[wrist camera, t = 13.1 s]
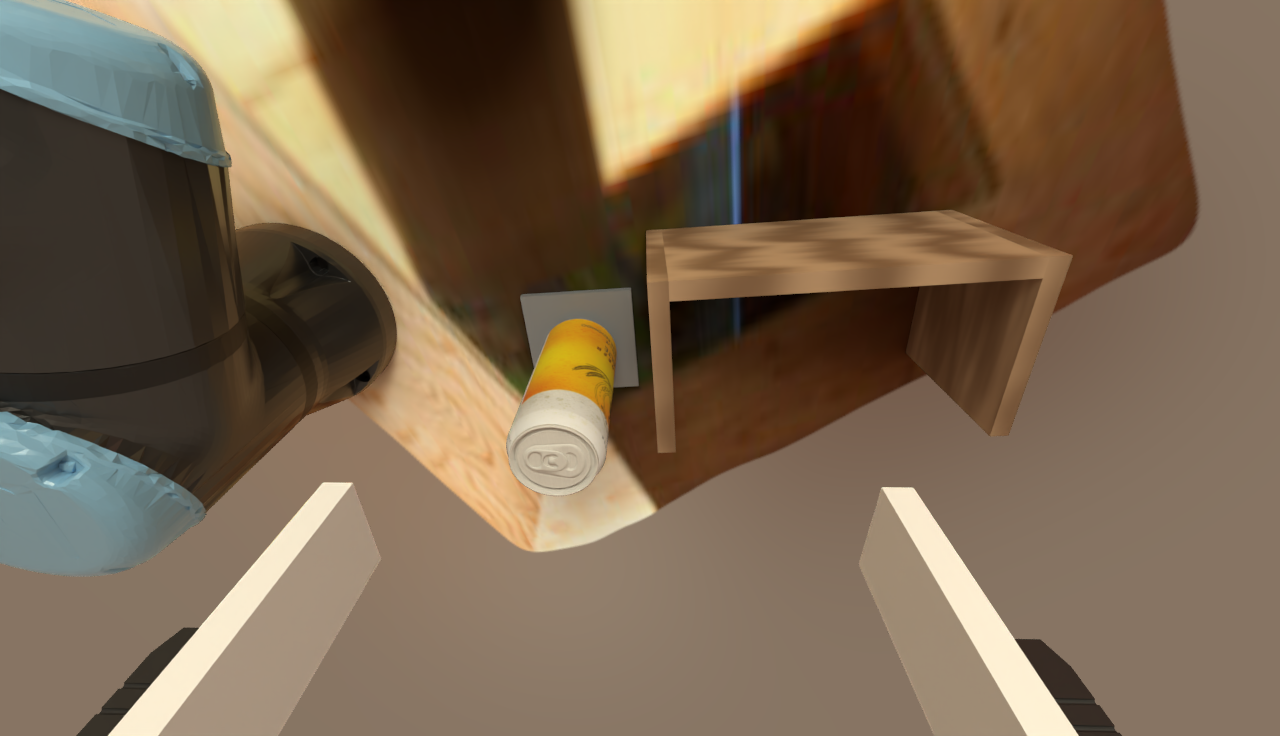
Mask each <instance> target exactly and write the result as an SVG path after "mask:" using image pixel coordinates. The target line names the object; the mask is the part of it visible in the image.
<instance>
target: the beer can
mask: <svg viewBox="0 0 1280 736" xmlns="http://www.w3.org/2000/svg"><path fill="white" fill-rule="evenodd" d="M616 356H617V350H616V345H615V342H614V340H613V338H612V336H611V335H610V333H609V332H608V331H607V330H606V329H605V328H604V327H602V326H601V325H599V324H597V323H595V322H593V321H590V320H586V319H570V320H567V321H564V322H562V323H560V324H558V325H556V326H555V327H554V328H553V329H552V330H551V331H550V332H549V334H548V336H547V338H546V340H545V343H544V345H543V348H542V350H541V353H540V355H539V358H538V360H537V363H536V365H535V368H534V370H533V373H532V375H531V378H530V381H529V383H528V386H527V388H526V391H525V393H524V396H523V398H522V401H521V403H520V406H519V408H518V411H517V414H516V416H515V419H514V421H513V424H512V426H511V429H510V431H509V434H508V437H507V442H506V448H507V454H508V457H509V465H510V468H511V470H512V472H513V474H514V476H515V477H516V478H517V479H518V480H519V481H520V482H521V483H522V484H523V485H524V486H526V487H527V488H529V489H531V490H533V491H535V492H538V493H541V494H544V495H550V496H565V495H570V494H574V493H577V492H579V491H581V490H583V489H584V488H586V487H587V486H588V485H589V484H590V483H591V482H592V481H593V479H594V478H595V476H596V475H597V474H598V473H599V472H600V470H601V469H602V467H603V465H604V463H605V459H606V452H607V442H608V433H609V423H610V414H611V404H612V395H613V385H614V375H615V366H616Z"/></svg>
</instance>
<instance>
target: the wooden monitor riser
mask: <svg viewBox="0 0 1280 736" xmlns="http://www.w3.org/2000/svg"><path fill="white" fill-rule="evenodd" d="M646 254H647V290H648V306H649V321H650V337H651V352H652V368H653V383H654V399H655V414H656V430H657V445H658V453H669V452H676V444H675V421H674V397H673V374H672V350H671V327H670V303H669V302H671V301H688V300H704V299H720V298H736V297H752V296H768V295H784V294H800V293H816V292H833V291H849V290H865V289H881V288H897V287H913V286H920V287H919V292H918V296H917V301H916V306H915V310H914V315H913V320H912V324H911V329H910V334H909V338H908V343H907V348H906V352H905V353H906V354H907V355H908V356H909V357H910V358H911V359H912V360H913V361H914V362H915V363H916V364H917V365H918V366H919V367H920V368H921V369H922V370H923V371H924V372H925V373H926V374H927V375H928V376H929V377H930V378H931V379H932V380H934V382H936V384H937V385H938V386H940V388H941V389H943V390H944V391H945V392H946V393H947V394H948V395H949V396H950V397H951V398H952V399H953V400H954V401H955V402H956V403H957V404H958V405H959V406H960V407H961V408H962V409H963V410H964V411H965V412H966V413H967V414H968V415H969V416H970V417H971V418H972V419H973V420H974V421H975V422H976V423H977V424H978V425H979V426H980V427H981V428H982V429H983V430H984V431H985V432H986V433H987V434H988V435H989V436H1007V435H1009V433H1010V430H1011V427H1012V424H1013V421H1014V419H1015V415H1016V413H1017V410H1018V407H1019V405H1020V402H1021V399H1022V396H1023V393H1024V391H1025V388H1026V385H1027V382H1028V380H1029V377H1030V374H1031V371H1032V368H1033V366H1034V363H1035V360H1036V357H1037V354H1038V352H1039V349H1040V346H1041V343H1042V341H1043V338H1044V335H1045V332H1046V329H1047V327H1048V324H1049V321H1050V318H1051V315H1052V313H1053V310H1054V307H1055V304H1056V302H1057V299H1058V296H1059V293H1060V290H1061V288H1062V285H1063V282H1064V279H1065V276H1066V274H1067V271H1068V268H1069V265H1070V262H1071V260H1072V257H1073V255H1070V254H1067V253H1065V252H1062V251H1059V250H1057V249H1054V248H1051V247H1049V246H1046V245H1044V244H1041V243H1038V242H1036V241H1033V240H1030V239H1028V238H1025V237H1022V236H1020V235H1017V234H1014V233H1012V232H1009V231H1007V230H1004V229H1001V228H999V227H996V226H993V225H991V224H988V223H985V222H983V221H980V220H978V219H975V218H972V217H970V216H967V215H964V214H962V213H959V212H956V211H954V210H942V211H928V212H913V213H898V214H883V215H868V216H854V217H839V218H824V219H809V220H795V221H780V222H765V223H750V224H736V225H721V226H706V227H691V228H677V229H662V230H647V231H646Z"/></svg>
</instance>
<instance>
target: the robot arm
mask: <svg viewBox="0 0 1280 736" xmlns="http://www.w3.org/2000/svg"><path fill="white" fill-rule="evenodd" d="M228 167H232V161H231V157H230V155H229V154H228V153H227V152H226V151H225V148H224V143H223V138H222V133H221V128H220V124H219V119H218V114H217V109H216V103H215V98H214V92H213V88H212V86H211V83H210V81H209V79H208V77H207V75H206V73H205V72H204V70H203V69H202V68H201V66H200V65H199V64H198V63H197V62H196V61H195V60H194V58H193V57H191V56H190V55H189V54H188V53H187V52H186V51H185V50H183V49H182V48H180V47H179V46H177V45H176V44H174V43H173V42H171V41H170V40H168V39H166V38H164V37H162V36H160V35H158V34H155V33H153V32H151V31H149V30H146V29H144V28H141V27H139V26H136V25H133V24H131V23H128V22H125V21H122V20H120V19H117V18H114V17H111V16H109V15H106V14H103V13H100V12H98V11H95V10H92V9H89V8H86V7H83V6H80V5H77V4H75V3H72V2H69V1H66V0H0V563H1V564H5V565H8V566H12V567H15V568H21V569H25V570H29V571H34V572H40V573H45V574H53V575H62V576H102V575H109V574H114V573H118V572H121V571H125V570H129V569H131V568H133V567H135V566H137V565H139V564H142V563H144V562H147V561H148V560H150V559H152V558H153V557H155V556H156V555H157V554H158V553H160V552H161V551H162V550H163V549H165V548H166V547H167V546H168V545H169V544H171V543H172V542H173V541H174V540H176V539H177V538H178V537H179V536H181V534H183V533H184V532H185V531H187V530H188V529H189V528H190V527H193V526H195V525H197V524H199V523H200V522H201V521H202V520H203V519H204V517H205V515H206V512H207V511H208V510H209V509H210V508H211V507H212V506H213V505H214V504H215V503H216V502H217V501H218V500H219V499H220V498H221V497H222V496H223V495H224V494H225V493H226V492H227V491H228V490H229V489H231V488H232V487H233V485H234V484H236V483H237V482H238V481H239V479H241V478H242V477H243V476H244V475H245V474H246V473H247V472H248V471H249V470H250V469H251V468H252V467H253V466H254V465H255V464H256V463H257V462H258V461H259V460H260V459H261V458H262V457H264V456H265V455H266V454H267V453H268V452H269V451H270V450H271V449H272V448H273V447H274V446H275V445H276V444H277V443H278V442H279V441H280V440H281V439H282V438H283V437H284V436H285V435H286V434H287V433H288V432H289V431H290V430H292V429H293V428H294V426H295V425H296V424H297V423H298V422H300V421H301V420H302V419H303V418H304V417H305V416H306V415H309V414H311V413H314V412H316V411H319V410H321V409H324V408H326V407H329V406H331V405H333V404H336V403H339V402H341V401H344V400H346V399H349V398H351V397H353V396H355V395H357V394H358V393H360V392H361V391H363V390H364V389H365V388H367V387H368V386H369V385H370V384H371V383H372V382H373V381H374V380H375V379H376V378H377V377H378V376H379V375H380V374H381V373H382V371H383V370H384V369H385V368H386V366H387V365H388V363H389V361H390V360H391V357H392V355H393V352H394V348H395V343H396V325H395V319H394V315H393V311H392V308H391V305H390V303H389V301H388V298H387V296H386V294H385V293H384V291H383V289H382V287H381V286H380V284H379V283H378V281H377V280H376V279H375V277H374V276H373V275H372V273H371V272H370V271H369V270H368V269H367V268H366V267H365V266H364V265H363V264H362V263H361V262H360V261H359V260H358V259H357V258H356V257H355V256H354V255H352V254H351V253H350V252H349V251H347V250H346V249H345V248H343V247H342V246H340V245H339V244H337V243H335V242H334V241H332V240H330V239H328V238H327V237H325V236H322V235H320V234H318V233H316V232H313V231H311V230H308V229H305V228H301V227H298V226H293V225H288V224H280V223H262V224H255V225H250V226H247V227H243V228H241V229H238V230H235V225H234V216H233V207H232V198H231V189H230V180H229V171H228ZM380 560H381V556H380V554H379V551H378V548H377V546H376V543H375V540H374V538H373V535H372V533H371V530H370V527H369V524H368V522H367V519H366V516H365V513H364V511H363V508H362V505H361V503H360V500H359V498H358V494H357V492H356V489H355V487H354V484H353V483H335V482H333V483H332V482H329V483H328V482H323V483H322V484H321V485H320V487H319V488H318V489H317V490H316V491H315V493H314V494H313V495H312V496H311V497H310V498H309V500H308V501H307V502H306V503H305V504H304V505H303V507H302V508H301V509H300V510H299V511H298V512H297V514H296V515H295V516H294V517H293V518H292V520H291V521H290V522H289V523H288V524H287V525H286V527H285V528H284V529H283V530H282V531H281V533H280V534H279V535H278V536H277V537H276V538H275V540H274V541H273V542H272V543H271V544H270V546H269V547H268V548H267V549H266V550H265V551H264V552H263V554H262V555H261V556H260V557H259V559H258V560H257V561H256V562H255V563H254V564H253V565H252V567H251V568H250V569H249V570H248V571H247V572H246V574H245V575H244V576H243V577H242V578H241V580H240V581H239V582H238V583H237V584H236V586H235V587H234V588H233V589H232V590H231V591H230V592H229V594H228V595H227V596H226V597H225V599H224V600H223V601H222V602H221V603H220V604H219V606H218V607H217V608H216V609H215V610H214V611H213V613H212V614H211V615H210V616H209V617H208V618H207V620H206V621H205V622H204V623H203V624H202V625H201V627H200V628H183V629H181V630H180V631H179V632H178V633H176V634H175V635H174V636H172V637H171V638H170V639H169V640H167V641H166V642H164V643H163V644H162V645H161V646H159V647H158V648H157V649H155V650H154V651H153V652H151V653H150V654H149V656H148V657H147V658H146V659H145V660H144V661H143V662H142V663H141V664H140V666H139V667H138V668H137V669H136V670H135V671H134V672H133V673H132V675H131V676H130V677H129V678H128V679H127V680H126V681H125V682H124V687H123V688H122V689H118V690H117V691H116V692H115V694H114V695H113V696H112V697H111V698H110V699H109V700H108V701H107V703H106V704H105V705H104V706H103V707H102V711H101V712H100V713H99V714H96V715H95V716H94V717H93V718H92V719H91V720H90V721H89V722H88V723H87V725H86V726H85V727H84V728H83V729H82V730H81V731H80V732H79V733H78V735H77V736H278V735H279V733H280V732H281V730H282V728H283V726H284V725H285V723H286V721H287V720H288V718H289V716H290V714H291V713H292V711H293V709H294V708H295V706H296V704H297V702H298V701H299V699H300V697H301V696H302V694H303V692H304V690H305V689H306V687H307V685H308V684H309V682H310V680H311V678H312V677H313V675H314V673H315V672H316V670H317V668H318V666H319V665H320V663H321V661H322V660H323V657H324V656H325V654H326V653H327V651H328V649H329V647H330V646H331V644H332V642H333V641H334V639H335V637H336V636H337V634H338V632H339V630H340V628H341V627H342V625H343V624H344V622H345V620H346V619H347V617H348V615H349V613H350V612H351V610H352V608H353V607H354V604H355V603H356V601H357V600H358V598H359V596H360V595H361V593H362V591H363V589H364V588H365V586H366V584H367V583H368V581H369V579H370V577H371V576H372V574H373V572H374V571H375V569H376V567H377V565H378V564H379V562H380ZM859 566H860V569H861V571H862V573H863V576H864V578H865V580H866V582H867V585H868V587H869V589H870V591H871V594H872V596H873V598H874V601H875V603H876V605H877V607H878V610H879V612H880V614H881V616H882V619H883V621H884V623H885V625H886V628H887V630H888V632H889V635H890V637H891V639H892V641H893V644H894V646H895V648H896V650H897V653H898V655H899V657H900V659H901V662H902V664H903V666H904V668H905V671H906V673H907V675H908V678H909V680H910V682H911V684H912V687H913V689H914V691H915V693H916V695H917V698H918V700H919V702H920V705H921V707H922V709H923V712H924V714H925V716H926V718H927V721H928V723H929V725H930V727H931V730H932V732H933V734H934V736H1122V735H1121V734H1120V733H1117V732H1116V731H1115V729H1114V724H1113V723H1112V722H1111V720H1110V719H1109V718H1108V717H1107V715H1106V714H1105V712H1104V711H1103V710H1102V708H1101V707H1100V706H1099V705H1096V703H1095V701H1094V700H1095V699H1094V697H1093V696H1092V694H1091V693H1090V692H1089V690H1088V689H1087V688H1086V686H1085V685H1084V684H1083V683H1082V681H1081V679H1080V678H1079V677H1078V675H1077V674H1076V673H1075V672H1074V670H1073V669H1072V668H1071V666H1070V665H1068V664H1067V663H1066V662H1065V661H1064V660H1063V659H1062V658H1060V656H1058V655H1057V654H1056V653H1055V652H1054V651H1053V650H1052V649H1050V648H1049V647H1048V646H1047V645H1046V644H1045V643H1044V642H1043V641H1041V640H1037V639H1036V640H1035V639H1014V638H1013V637H1012V635H1011V634H1010V632H1009V631H1008V629H1007V628H1006V626H1005V625H1004V623H1003V622H1002V620H1001V619H1000V617H999V616H998V614H997V613H996V611H995V610H994V608H993V607H992V605H991V604H990V602H989V601H988V599H987V598H986V596H985V595H984V593H983V592H982V590H981V589H980V587H979V586H978V584H977V583H976V581H975V580H974V578H973V577H972V575H971V574H970V572H969V571H968V569H967V568H966V566H965V565H964V563H963V562H962V560H961V559H960V557H959V556H958V554H957V553H956V552H955V550H954V548H953V547H952V545H951V544H950V542H949V541H948V539H947V538H946V536H945V535H944V533H943V532H942V530H941V529H940V527H939V526H938V524H937V523H936V521H935V520H934V518H933V517H932V515H931V514H930V512H929V511H928V509H927V508H926V506H925V505H924V503H923V502H922V500H921V499H920V497H919V496H918V494H917V493H916V491H915V490H914V488H892V487H891V488H890V487H887V488H886V487H882V488H881V492H880V495H879V498H878V502H877V505H876V508H875V511H874V515H873V518H872V522H871V525H870V528H869V532H868V535H867V539H866V542H865V545H864V548H863V552H862V555H861V558H860V562H859Z"/></svg>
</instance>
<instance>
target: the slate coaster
mask: <svg viewBox="0 0 1280 736" xmlns="http://www.w3.org/2000/svg"><path fill="white" fill-rule="evenodd" d="M520 299H521V304H522V309H523V314H524V319H525V324H526V330H527V335H528V340H529V345H530V350H531V355H532V360H533V365H534V368H535V365H536V363H537V360H538V358H539V355H540V353H541V350H542V348H543V345H544V343H545V340H546V338H547V336H548V334H549V332H550V331H551V330H552V329H553V328H554V327H555V326H556V325H558V324H560V323H562V322H564V321H567V320H570V319H586V320H590V321H593V322H595V323H597V324H599V325H601V326H602V327H604V328H605V329H606V330H607V331H608V332H609V333H610V335H611V336H612V338H613V340H614V342H615V345H616V350H617V356H616V366H615V375H614V385H613V387H630V386H639V379H638V366H637V354H636V342H635V329H634V317H633V305H632V292H631V288H616V289H600V290H584V291H568V292H553V293H537V294H522V295H521V296H520Z"/></svg>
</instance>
